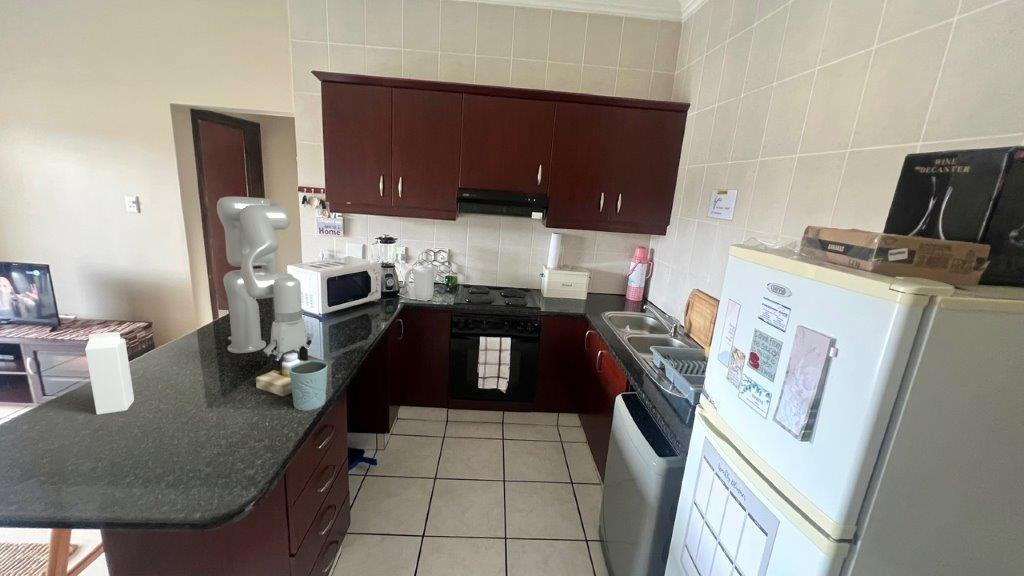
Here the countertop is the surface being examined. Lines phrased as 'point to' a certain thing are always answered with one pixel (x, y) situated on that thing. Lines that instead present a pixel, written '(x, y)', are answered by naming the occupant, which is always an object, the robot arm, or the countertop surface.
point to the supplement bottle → (289, 363)
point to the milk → (109, 372)
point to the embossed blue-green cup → (308, 384)
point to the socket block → (274, 383)
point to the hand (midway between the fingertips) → (291, 365)
